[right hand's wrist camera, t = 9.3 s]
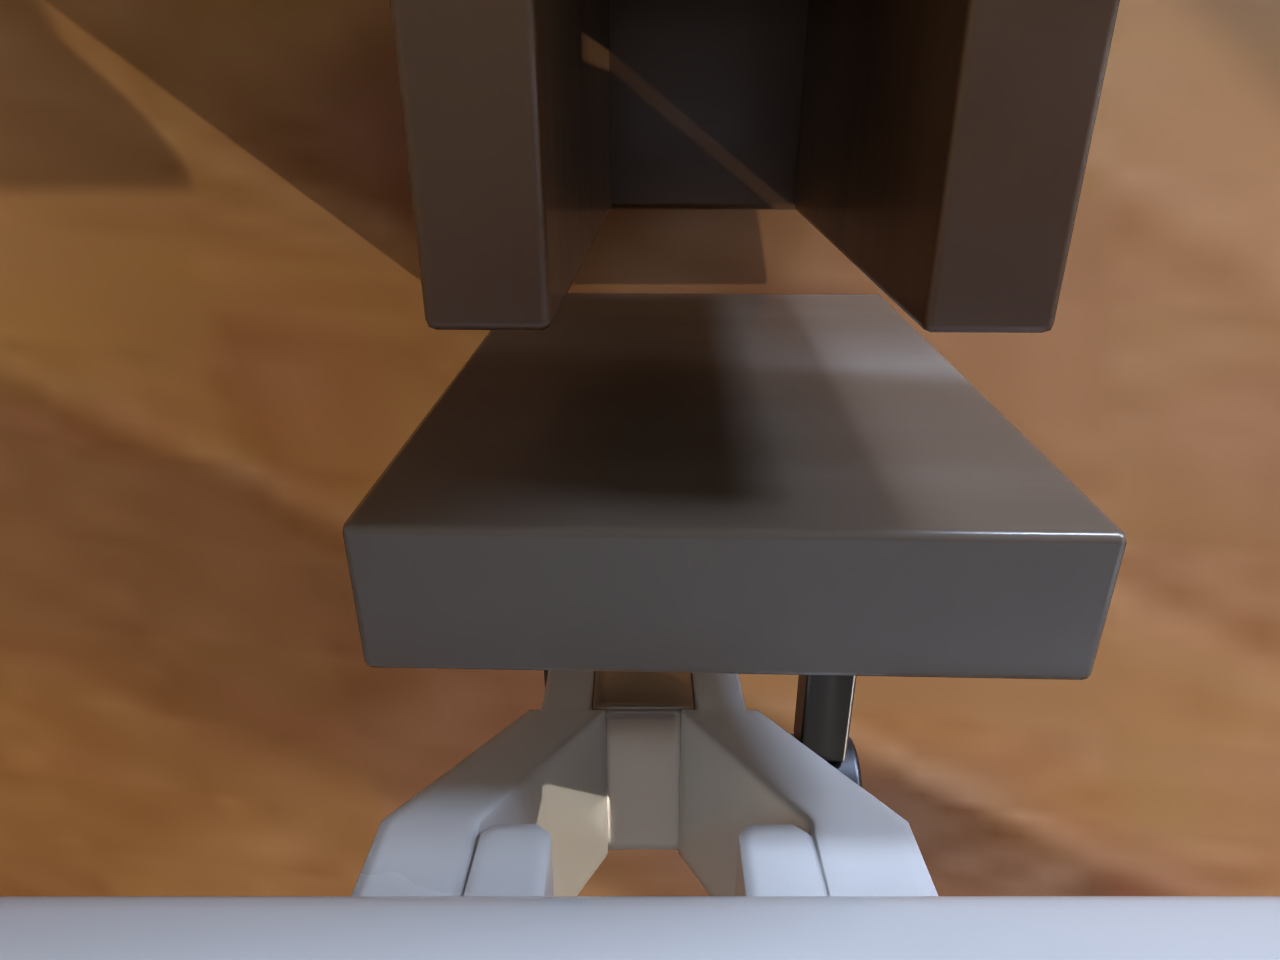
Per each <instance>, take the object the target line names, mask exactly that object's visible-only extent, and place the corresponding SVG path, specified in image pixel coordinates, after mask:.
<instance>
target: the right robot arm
mask: <svg viewBox="0 0 1280 960" xmlns="http://www.w3.org/2000/svg"><path fill="white" fill-rule="evenodd" d="M615 849H671V850H679V854H680V855H681V857H682V858H683V860H684V861H685V862H686V864H687V865H688V866H689V868H690V869H691V870H692V872H693V873H694V874H695V876H696V877H697V878H698V880H699V881H700V882H701V884H702V885H703V886H704V888H705V889H706V890H707V892H708V893H709V894H710V896H577V895H578V894H579V892H580V891H581V890H582V888H583V887H584V886H585V884H586V883H587V882H588V880H589V879H590V877H591V876H592V875H593V873H594V872H595V871H596V869H597V868H598V867H599V865H600V864H601V863H602V861H603V860H604V859H605V857H606V856H607V854H608V850H615ZM0 960H1280V896H938V894H937V891H936V889H935V887H934V884H933V882H932V879H931V877H930V874H929V872H928V869H927V867H926V865H925V862H924V860H923V857H922V855H921V852H920V850H919V848H918V845H917V843H916V840H915V838H914V835H913V833H912V830H911V828H910V826H909V823H908V822H907V821H906V820H905V819H903V818H902V817H900V816H899V815H898V814H896V813H895V812H894V811H892V810H891V809H890V808H888V807H887V806H886V805H884V804H883V803H882V802H880V801H879V800H878V799H876V798H875V797H874V796H872V795H871V794H870V793H868V792H867V791H866V790H864V789H863V788H862V787H860V786H859V785H858V784H856V783H855V782H853V781H852V780H851V779H849V778H848V777H847V776H845V775H844V774H843V773H841V772H840V771H839V770H837V769H836V768H835V767H833V766H832V765H831V764H829V763H828V762H827V761H825V760H824V759H823V758H821V757H820V756H819V755H817V754H816V753H815V752H813V751H812V750H811V749H809V748H808V747H807V746H805V745H804V744H802V743H801V742H800V741H798V740H797V739H796V738H794V737H793V736H792V735H790V734H789V733H788V732H786V731H785V730H784V729H782V728H781V727H780V726H778V725H777V724H776V723H774V722H773V721H772V720H770V719H769V718H768V717H766V716H765V715H764V714H762V713H761V712H760V711H758V710H746V709H745V704H744V699H743V694H742V689H741V684H740V679H739V674H733V673H676V672H620V671H564V670H549V671H548V677H547V682H546V687H545V693H544V698H543V704H542V709H541V710H529V711H528V712H526V713H525V714H524V715H522V716H521V717H520V718H518V719H517V720H516V721H514V722H513V723H512V724H510V725H509V726H508V727H506V728H505V729H504V730H502V731H501V732H500V733H498V734H497V735H496V736H494V737H493V738H492V739H490V740H489V741H488V742H486V743H485V744H484V745H482V746H481V747H480V748H478V749H477V750H476V751H474V752H473V753H472V754H470V755H469V756H468V757H466V758H465V759H464V760H462V761H461V762H460V763H458V764H457V765H456V766H454V767H453V768H452V769H450V770H449V771H448V772H446V773H445V774H444V775H442V776H441V777H440V778H438V779H437V780H436V781H434V782H433V783H431V784H430V785H429V786H427V787H426V788H425V789H423V790H422V791H421V792H419V793H418V794H417V795H415V796H414V797H413V798H411V799H410V800H409V801H407V802H406V803H405V804H403V805H402V806H401V807H399V808H398V809H397V810H395V811H394V812H393V813H391V814H390V815H389V816H387V817H386V818H385V819H383V820H382V821H381V824H380V826H379V829H378V831H377V834H376V836H375V838H374V841H373V843H372V846H371V848H370V851H369V853H368V856H367V858H366V861H365V863H364V866H363V868H362V871H361V873H360V876H359V878H358V881H357V883H356V886H355V888H354V891H353V893H352V895H351V896H0Z"/></svg>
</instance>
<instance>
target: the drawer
mask: <svg viewBox="0 0 1280 960" xmlns="http://www.w3.org/2000/svg"><path fill="white" fill-rule="evenodd" d="M1119 1H1120V0H390V6H391V15H392V24H393V33H394V42H395V51H396V60H397V69H398V78H399V87H400V96H401V105H402V114H403V123H404V132H405V141H406V150H407V158H408V167H409V176H410V185H411V194H412V203H413V212H414V221H415V230H416V239H417V248H418V257H419V266H420V275H421V284H422V293H423V302H424V311H425V319H426V321H427V324H428V326H429V327H431V328H434V329H437V330H491V331H490V332H489V333H488V335H487V336H486V337H485V339H484V340H483V341H482V343H481V344H480V345H479V346H478V348H477V349H476V350H475V352H474V353H473V354H472V356H471V357H470V358H469V360H468V361H467V362H466V364H465V365H464V366H463V368H462V369H461V370H460V372H459V373H458V374H457V376H456V377H455V378H454V380H453V381H452V382H451V383H450V385H449V386H448V387H447V389H446V390H445V391H444V393H443V394H442V395H441V397H440V398H439V399H438V401H437V402H436V403H435V405H434V406H433V407H432V409H431V410H430V411H429V413H428V414H427V415H426V417H425V418H424V419H423V421H422V422H421V423H420V424H419V426H418V427H417V428H416V430H415V431H414V432H413V434H412V435H411V436H410V438H409V439H408V440H407V442H406V443H405V444H404V446H403V447H402V448H401V450H400V451H399V452H398V454H397V455H396V456H395V458H394V459H393V460H392V461H391V463H390V464H389V465H388V467H387V468H386V469H385V471H384V472H383V473H382V475H381V476H380V477H379V479H378V480H377V481H376V483H375V484H374V485H373V487H372V488H371V489H370V491H369V492H368V493H367V495H366V496H365V497H364V499H363V500H362V501H361V502H360V504H359V505H358V506H357V508H356V509H355V510H354V512H353V513H352V514H351V516H350V517H349V518H348V520H347V521H346V522H345V524H344V527H343V537H344V543H345V548H346V554H347V560H348V566H349V572H350V577H351V583H352V589H353V595H354V601H355V607H356V612H357V618H358V624H359V630H360V636H361V641H362V647H363V653H364V659H365V662H366V664H367V665H368V666H371V667H396V668H452V669H508V670H544V678H545V687H546V682H547V677H548V671H549V670H564V671H620V672H676V673H733V674H789V675H799V680H798V690H797V701H796V712H795V723H794V734H790V735H792V736H793V737H794V738H796V739H797V740H798V741H800V742H801V743H802V744H804V745H805V746H807V747H808V748H809V749H811V750H812V751H813V752H815V753H816V754H817V755H819V756H820V757H821V758H823V759H824V760H825V761H827V762H828V763H829V764H831V765H832V766H833V767H835V768H836V769H837V770H839V771H840V772H841V773H843V774H844V775H845V776H847V777H848V778H849V779H851V780H852V781H853V782H855V783H856V784H858V785H859V786H860V787H862V780H861V771H860V765H859V760H858V755H857V752H856V749H855V746H854V744H853V741H852V739H851V738H850V737H849V730H850V722H851V714H852V706H853V699H854V691H855V683H856V676H901V677H957V678H1013V679H1069V680H1083V679H1086V678H1088V677H1089V676H1090V675H1091V672H1092V668H1093V664H1094V661H1095V657H1096V653H1097V650H1098V646H1099V642H1100V639H1101V635H1102V631H1103V627H1104V624H1105V620H1106V616H1107V613H1108V609H1109V605H1110V602H1111V598H1112V594H1113V591H1114V587H1115V583H1116V580H1117V576H1118V572H1119V569H1120V565H1121V561H1122V557H1123V554H1124V550H1125V546H1126V537H1125V534H1124V532H1123V531H1121V530H1120V529H1119V528H1118V527H1117V526H1116V525H1115V524H1114V523H1113V522H1112V521H1111V520H1110V519H1109V518H1108V517H1107V516H1106V515H1105V514H1104V513H1103V512H1102V511H1101V510H1100V509H1099V508H1098V507H1097V506H1096V505H1095V504H1094V503H1093V502H1092V501H1091V500H1090V499H1089V498H1088V497H1087V496H1086V495H1084V494H1083V493H1082V492H1081V491H1080V490H1079V489H1078V488H1077V487H1076V486H1075V485H1074V484H1073V483H1072V482H1071V481H1070V480H1069V479H1068V478H1067V477H1066V476H1065V475H1064V474H1063V473H1062V472H1061V471H1060V470H1059V469H1058V468H1057V467H1056V466H1055V465H1054V464H1053V463H1052V462H1051V461H1050V460H1049V459H1048V458H1046V457H1045V456H1044V455H1043V454H1042V453H1041V452H1040V451H1039V450H1038V449H1037V448H1036V447H1035V446H1034V445H1033V444H1032V443H1031V442H1030V441H1029V440H1028V439H1027V438H1026V437H1025V436H1024V435H1023V434H1022V433H1021V432H1020V431H1019V430H1018V429H1017V428H1016V427H1015V426H1014V425H1013V424H1012V423H1011V422H1010V421H1008V420H1007V419H1006V418H1005V417H1004V416H1003V415H1002V414H1001V413H1000V412H999V411H998V410H997V409H996V408H995V407H994V406H993V405H992V404H991V403H990V402H989V401H988V400H987V399H986V398H985V397H984V396H983V395H982V394H981V393H980V392H979V391H978V390H977V389H976V388H975V387H974V386H973V385H972V384H970V383H969V382H968V381H967V380H966V379H965V378H964V377H963V376H962V375H961V374H960V373H959V372H958V371H957V370H956V369H955V368H954V367H953V366H952V365H951V364H950V363H949V362H948V361H947V360H946V359H945V358H944V357H943V356H942V355H941V354H940V353H939V352H938V351H937V350H936V349H935V348H934V347H932V346H931V345H930V344H929V343H928V342H927V341H926V340H925V339H924V338H923V337H922V336H921V335H920V334H919V333H918V332H917V331H916V330H915V329H914V328H913V327H912V326H911V325H910V324H909V323H908V322H907V321H906V320H905V319H904V318H903V317H902V316H901V315H900V314H899V313H898V312H897V311H896V310H894V309H893V308H892V307H891V306H890V305H889V304H888V303H887V302H886V301H885V300H884V299H883V298H882V297H881V296H880V295H877V294H597V293H567V292H568V290H569V288H570V286H571V284H572V282H573V280H574V278H575V276H576V274H577V272H578V270H579V269H580V267H581V265H582V263H583V261H584V259H585V257H586V255H587V253H588V251H589V249H590V247H591V245H592V243H593V242H594V240H595V238H596V236H597V234H598V232H599V230H600V228H601V226H602V224H603V222H604V220H605V218H606V216H607V215H608V213H609V211H610V209H796V210H797V211H798V212H800V213H801V214H802V215H803V216H804V217H805V218H806V219H807V220H808V221H809V222H810V223H811V224H812V225H813V226H814V227H816V228H817V229H818V230H819V231H820V232H821V233H822V234H823V235H824V236H825V237H826V238H827V239H828V240H829V241H830V242H832V243H833V244H834V245H835V246H836V247H837V248H838V249H839V250H840V251H841V252H842V253H843V254H844V255H845V256H846V257H847V258H849V259H850V260H851V261H852V262H853V263H854V264H855V265H856V266H857V267H858V268H859V269H860V270H861V271H862V272H863V273H865V274H866V275H867V276H868V277H869V278H870V279H871V280H872V281H873V282H874V283H875V284H876V285H877V286H878V287H879V288H881V289H882V290H883V291H884V292H885V293H886V294H887V295H888V296H889V297H890V298H891V299H892V300H893V301H894V302H895V303H897V304H898V305H899V306H900V307H901V308H902V309H903V310H904V311H905V312H906V313H907V314H908V315H909V316H910V317H911V318H913V319H914V320H915V321H916V322H917V323H918V324H919V325H920V326H921V327H922V328H923V329H924V330H927V331H929V332H1003V333H1042V332H1046V331H1049V330H1051V328H1052V326H1053V324H1054V319H1055V314H1056V309H1057V304H1058V300H1059V295H1060V290H1061V285H1062V280H1063V275H1064V270H1065V265H1066V260H1067V256H1068V251H1069V246H1070V241H1071V236H1072V231H1073V226H1074V221H1075V216H1076V212H1077V207H1078V202H1079V197H1080V192H1081V187H1082V182H1083V177H1084V172H1085V168H1086V163H1087V158H1088V153H1089V148H1090V143H1091V138H1092V133H1093V128H1094V124H1095V119H1096V114H1097V109H1098V104H1099V99H1100V94H1101V89H1102V85H1103V80H1104V75H1105V70H1106V65H1107V60H1108V55H1109V50H1110V45H1111V41H1112V36H1113V31H1114V26H1115V21H1116V16H1117V11H1118V6H1119Z"/></svg>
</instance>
